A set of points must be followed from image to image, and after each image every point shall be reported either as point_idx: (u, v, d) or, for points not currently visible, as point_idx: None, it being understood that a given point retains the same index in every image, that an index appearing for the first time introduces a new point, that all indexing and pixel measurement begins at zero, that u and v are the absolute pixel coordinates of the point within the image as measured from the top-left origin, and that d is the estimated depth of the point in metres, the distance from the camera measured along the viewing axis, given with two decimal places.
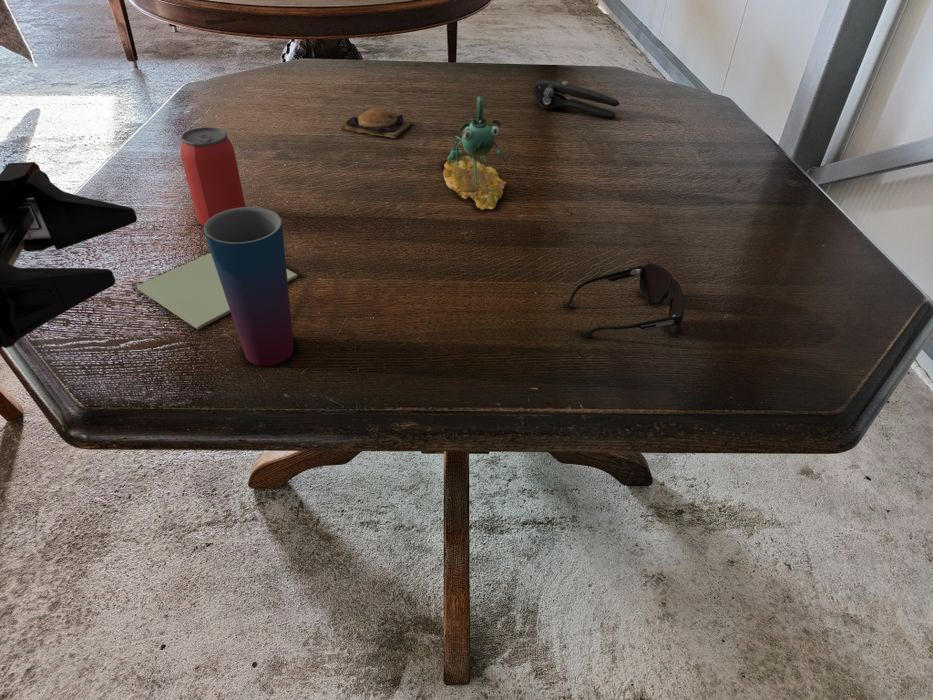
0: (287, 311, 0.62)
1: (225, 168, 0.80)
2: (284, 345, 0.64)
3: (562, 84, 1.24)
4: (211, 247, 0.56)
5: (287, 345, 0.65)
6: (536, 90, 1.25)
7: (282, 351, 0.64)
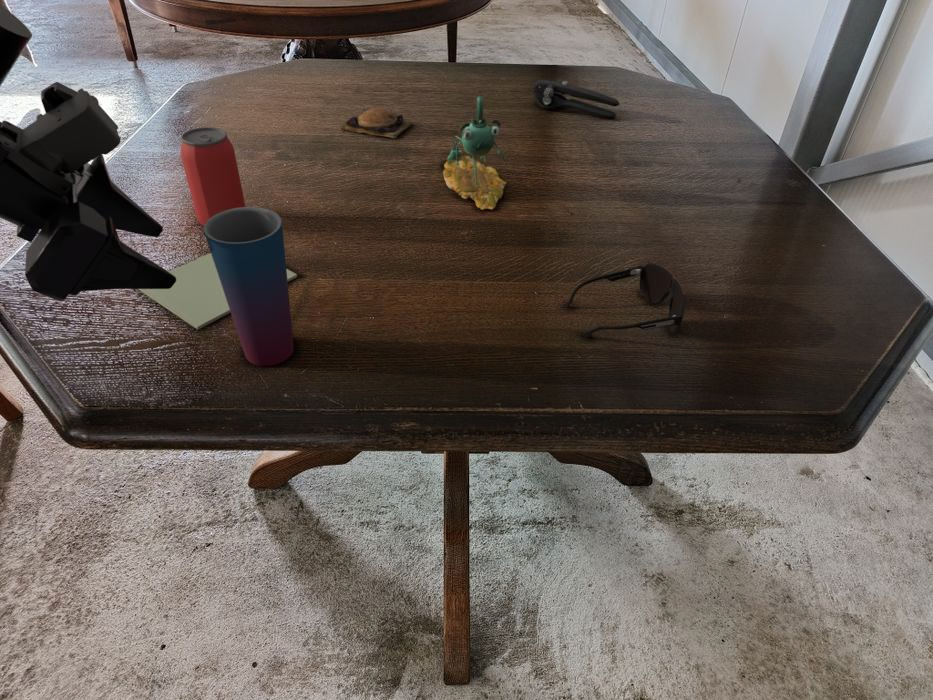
0: (287, 311, 0.62)
1: (225, 168, 0.80)
2: (284, 345, 0.64)
3: (562, 84, 1.24)
4: (211, 247, 0.56)
5: (287, 345, 0.65)
6: (536, 90, 1.25)
7: (282, 351, 0.64)
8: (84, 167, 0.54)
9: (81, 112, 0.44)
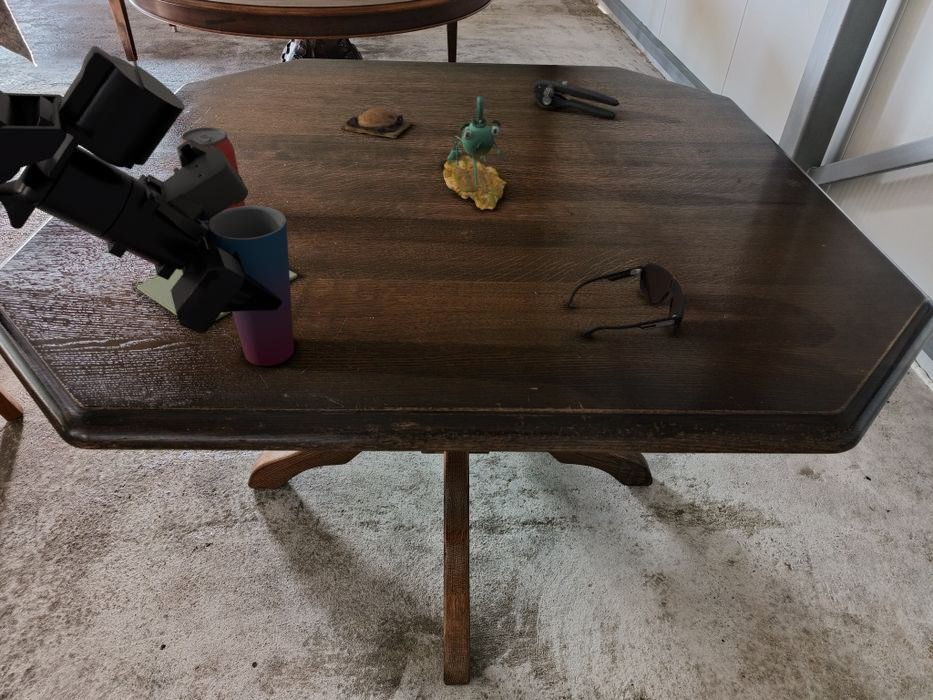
0: (288, 311, 0.62)
1: None
2: (284, 345, 0.64)
3: (562, 84, 1.24)
4: (215, 243, 0.56)
5: (287, 345, 0.64)
6: (536, 90, 1.25)
7: (282, 351, 0.64)
8: None
9: (221, 169, 0.51)
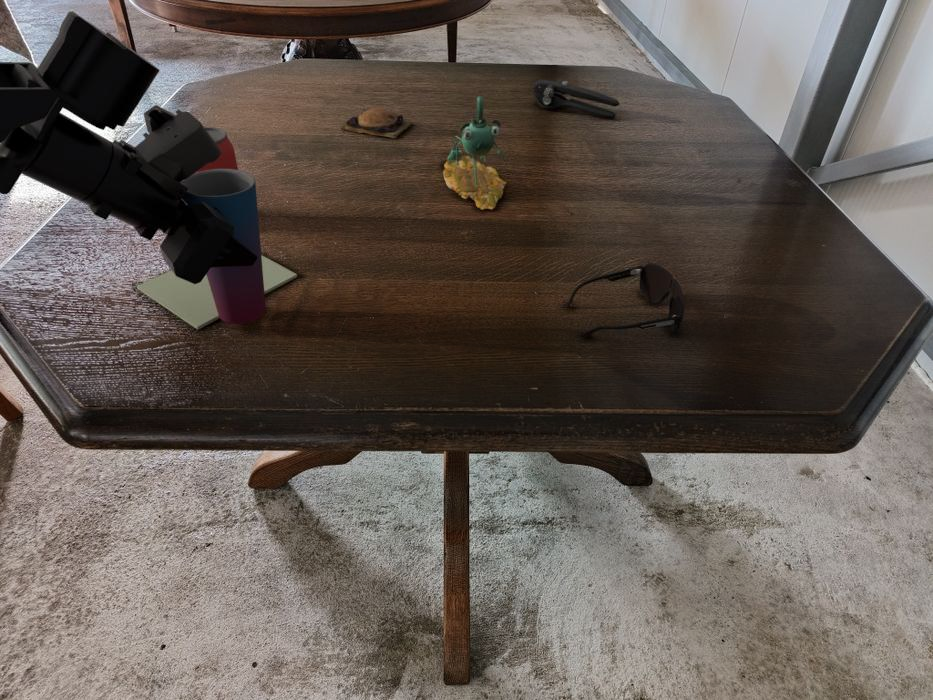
0: (261, 268, 0.66)
1: (225, 168, 0.80)
2: (259, 302, 0.67)
3: (562, 84, 1.24)
4: (191, 203, 0.59)
5: (261, 302, 0.68)
6: (536, 90, 1.25)
7: (257, 308, 0.68)
8: None
9: (197, 128, 0.54)
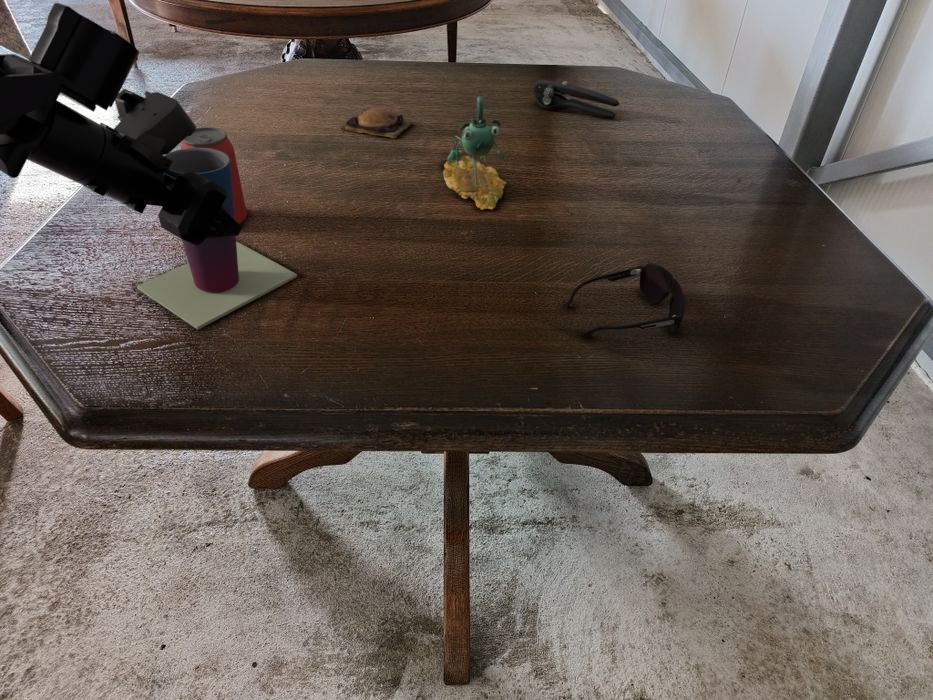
0: (235, 237, 0.72)
1: None
2: (235, 269, 0.74)
3: (562, 84, 1.24)
4: None
5: (237, 270, 0.74)
6: (536, 90, 1.25)
7: (234, 275, 0.74)
8: None
9: (175, 105, 0.60)
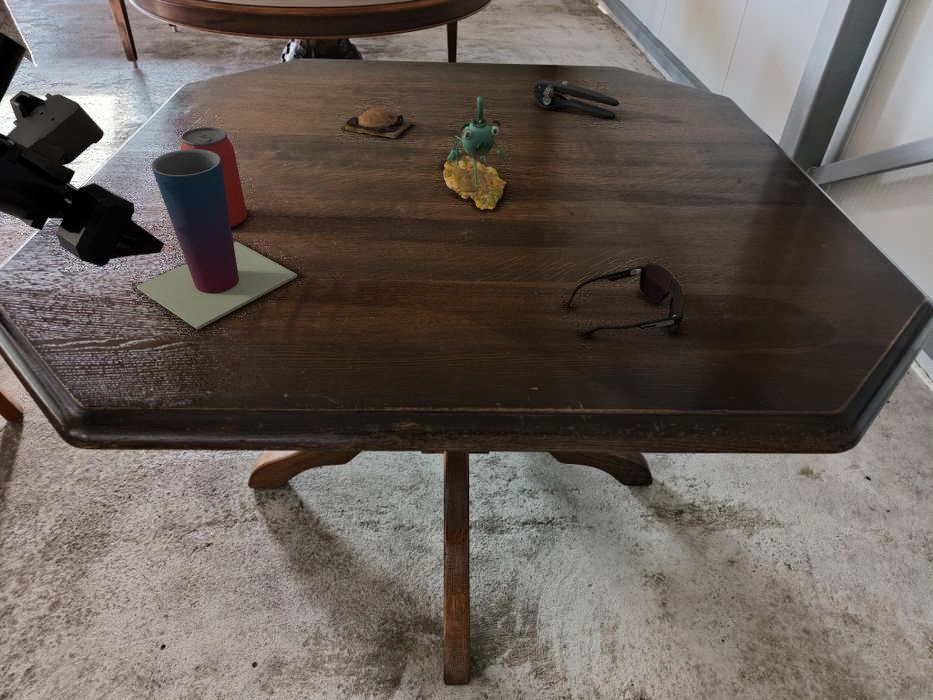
0: (232, 238, 0.72)
1: (225, 168, 0.80)
2: (234, 270, 0.74)
3: (562, 84, 1.24)
4: (167, 184, 0.64)
5: (236, 270, 0.74)
6: (536, 90, 1.25)
7: (234, 275, 0.74)
8: None
9: (76, 109, 0.53)
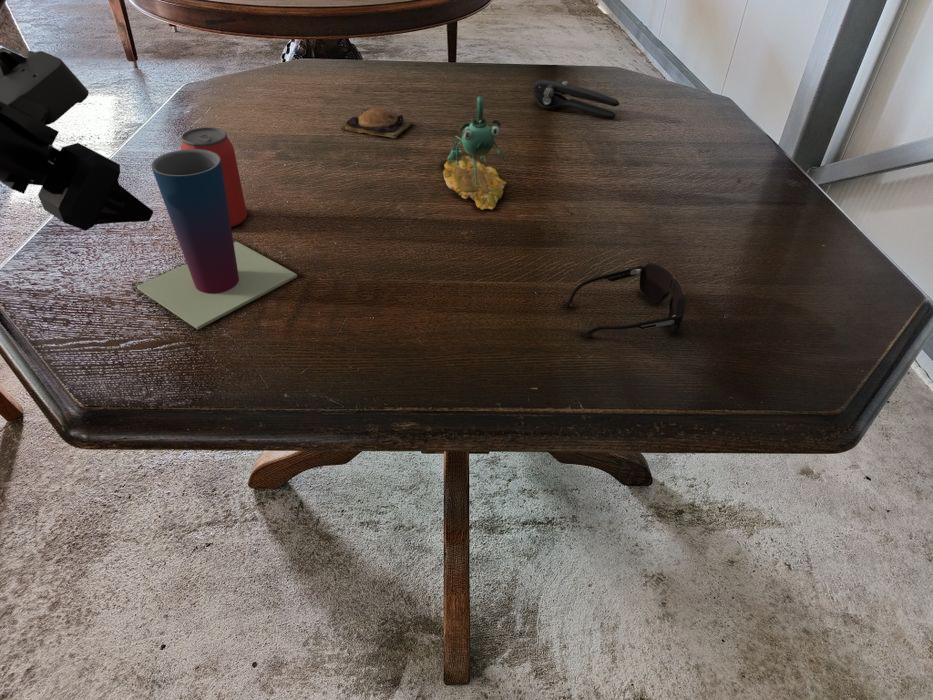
0: (232, 238, 0.72)
1: (225, 168, 0.80)
2: (234, 270, 0.74)
3: (562, 84, 1.24)
4: (167, 184, 0.64)
5: (236, 270, 0.74)
6: (536, 90, 1.25)
7: (234, 275, 0.74)
8: None
9: (58, 65, 0.51)
